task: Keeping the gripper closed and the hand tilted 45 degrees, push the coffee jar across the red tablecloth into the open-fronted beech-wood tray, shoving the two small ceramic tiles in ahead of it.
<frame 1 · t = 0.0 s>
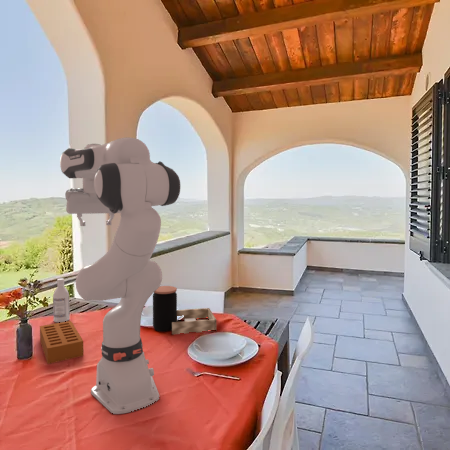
hand: (96, 225, 129), 48 cm above the table, tool pointing down, fingers open, 8 cm apart
brick: (60, 348, 134), on the table
tray: (191, 325, 158), on the table
bath foam: (61, 320, 163), on the table
tile cream: (190, 324, 161), on the table
coffee jar: (164, 328, 155), on the table
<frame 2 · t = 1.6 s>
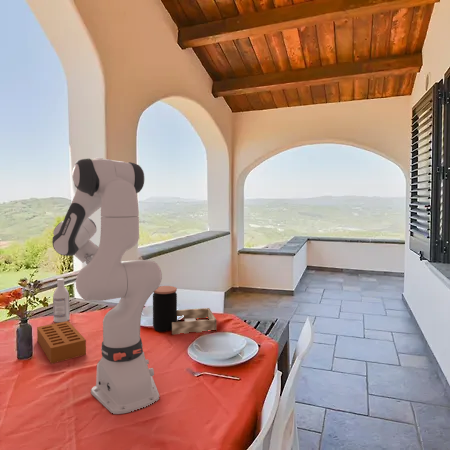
hand: (112, 274, 148), 25 cm above the table, tool tilted 45°, fingers open, 6 cm apart
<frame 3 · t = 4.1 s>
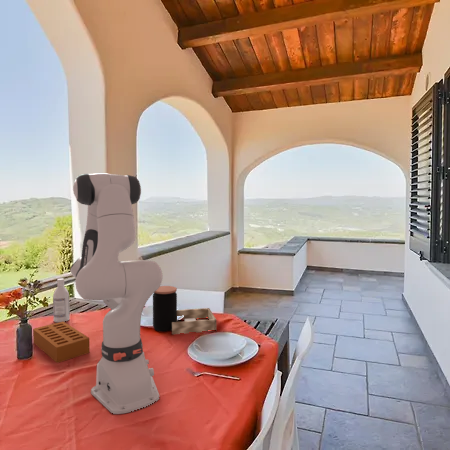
hand: (127, 308, 151), 10 cm above the table, tool tilted 45°, fingers closed
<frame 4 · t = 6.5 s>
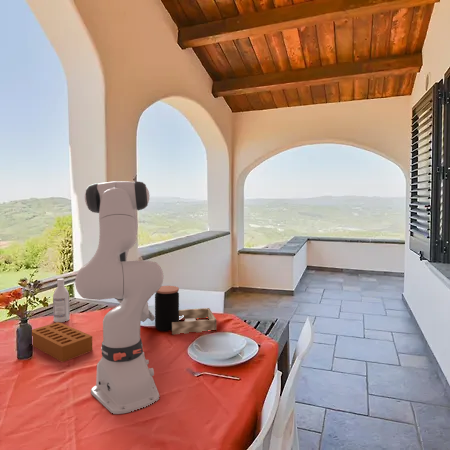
hand: (153, 318, 154), 4 cm above the table, tool tilted 45°, fingers closed, pressing on coffee jar
coffee jar: (167, 327, 155), on the table, touching gripper
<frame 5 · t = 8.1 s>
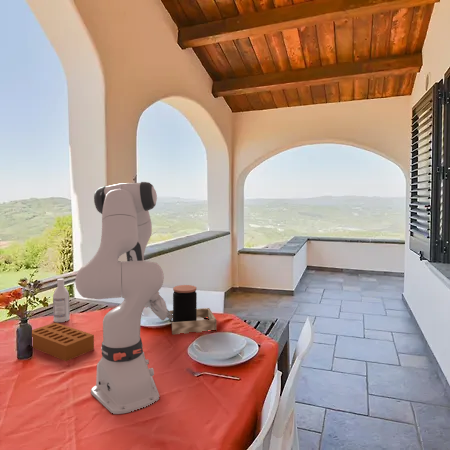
hand: (171, 317, 156), 4 cm above the table, tool tilted 45°, fingers closed, pressing on coffee jar
tile cream: (197, 322, 163), on the table, touching coffee jar
coffee jar: (184, 326, 157), on the table, touching gripper, tile cream
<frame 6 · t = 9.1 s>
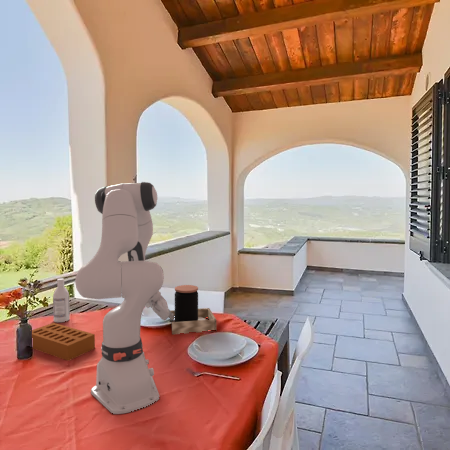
hand: (173, 317, 156), 4 cm above the table, tool tilted 45°, fingers closed, pressing on coffee jar
tile cream: (198, 322, 163), on the table
coffee jar: (186, 326, 157), on the table, touching gripper
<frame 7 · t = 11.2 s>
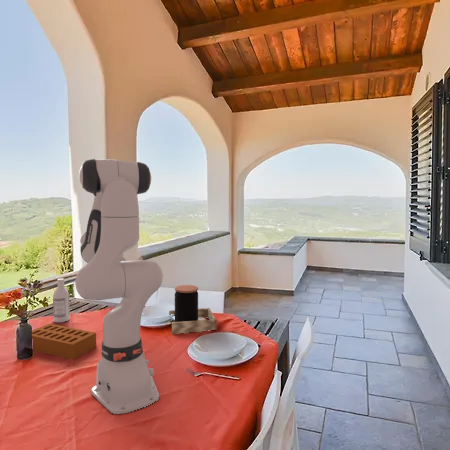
hand: (137, 281, 151), 22 cm above the table, tool tilted 45°, fingers closed
coffee jar: (186, 326, 157), on the table
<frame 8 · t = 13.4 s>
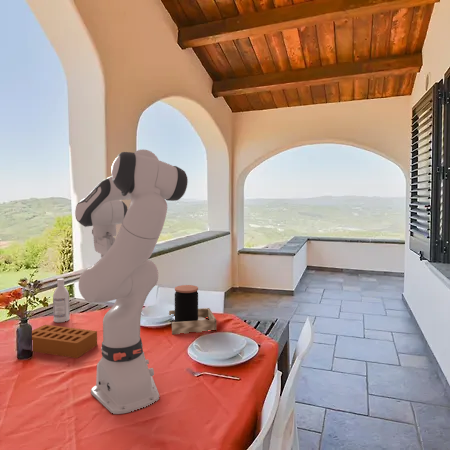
hand: (105, 265, 139), 31 cm above the table, tool pointing down, fingers closed
at the end: coffee jar 2.3 cm from the tray (horizontally); coffee jar tilted 0°; tile cream moved 4.5 cm from its start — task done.
